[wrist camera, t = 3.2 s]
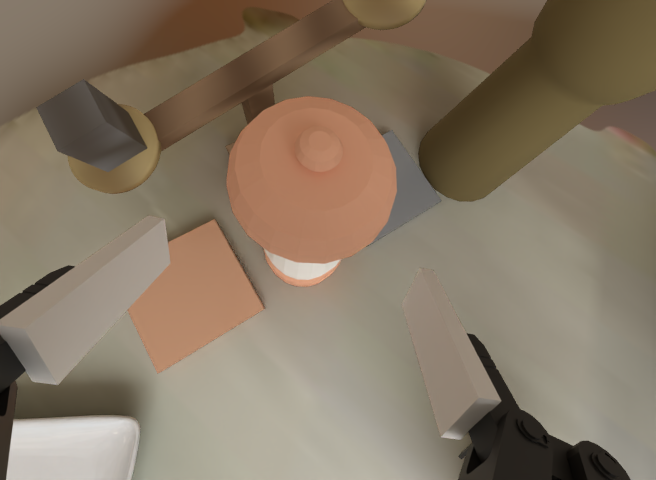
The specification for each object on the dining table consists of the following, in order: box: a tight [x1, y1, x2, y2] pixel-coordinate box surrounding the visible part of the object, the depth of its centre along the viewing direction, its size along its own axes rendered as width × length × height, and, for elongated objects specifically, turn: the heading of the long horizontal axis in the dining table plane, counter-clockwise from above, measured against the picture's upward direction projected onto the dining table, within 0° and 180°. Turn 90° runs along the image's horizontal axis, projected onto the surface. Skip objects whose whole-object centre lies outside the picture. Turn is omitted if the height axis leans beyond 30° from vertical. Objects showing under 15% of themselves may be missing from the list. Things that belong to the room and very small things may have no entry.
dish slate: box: [366, 130, 441, 247], centre depth 29 cm, size 10×10×1 cm
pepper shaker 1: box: [227, 96, 397, 287], centre depth 17 cm, size 7×7×19 cm
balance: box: [36, 0, 426, 194], centre depth 22 cm, size 27×6×15 cm, turn 122°
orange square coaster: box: [128, 219, 265, 373], centre depth 24 cm, size 10×10×1 cm
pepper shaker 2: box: [418, 0, 656, 201], centre depth 22 cm, size 10×10×19 cm
